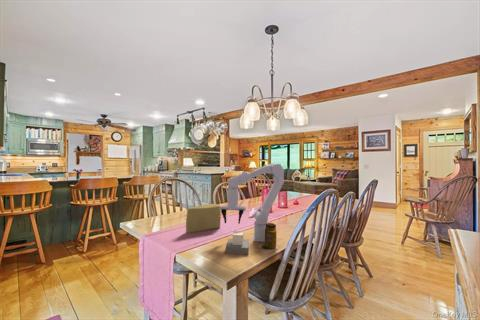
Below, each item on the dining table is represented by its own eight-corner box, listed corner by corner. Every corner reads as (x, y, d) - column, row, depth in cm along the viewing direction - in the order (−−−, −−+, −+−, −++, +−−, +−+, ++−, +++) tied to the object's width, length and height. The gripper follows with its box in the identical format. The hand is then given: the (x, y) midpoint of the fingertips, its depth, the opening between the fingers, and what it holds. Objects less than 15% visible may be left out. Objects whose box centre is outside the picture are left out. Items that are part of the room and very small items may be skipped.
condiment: (279, 247, 115) (279, 224, 115) (270, 252, 109) (271, 228, 108) (267, 243, 120) (268, 221, 120) (258, 248, 113) (258, 225, 113)
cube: (243, 241, 114) (243, 231, 114) (242, 245, 109) (242, 235, 109) (233, 240, 115) (233, 231, 115) (232, 244, 110) (232, 234, 110)
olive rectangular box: (190, 235, 130) (190, 210, 130) (182, 231, 137) (183, 206, 137) (221, 228, 144) (221, 205, 144) (212, 224, 152) (213, 202, 151)
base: (248, 244, 117) (248, 239, 117) (248, 254, 106) (248, 247, 106) (228, 244, 118) (228, 238, 118) (225, 253, 107) (225, 247, 107)
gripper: (218, 199, 120) (218, 224, 120) (245, 200, 119) (245, 225, 120) (220, 197, 127) (220, 220, 127) (245, 198, 126) (245, 221, 127)
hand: (232, 222), depth 124 cm, fingers open, 7 cm apart
